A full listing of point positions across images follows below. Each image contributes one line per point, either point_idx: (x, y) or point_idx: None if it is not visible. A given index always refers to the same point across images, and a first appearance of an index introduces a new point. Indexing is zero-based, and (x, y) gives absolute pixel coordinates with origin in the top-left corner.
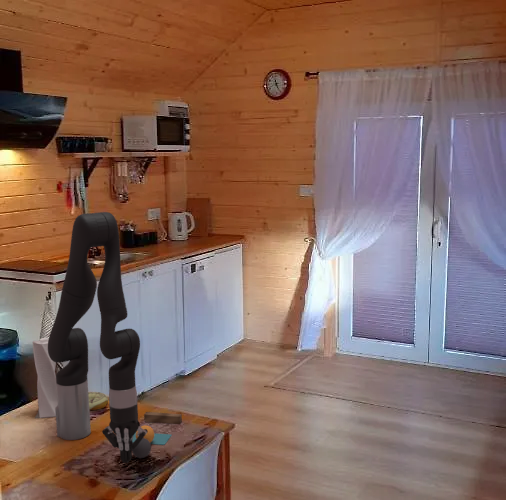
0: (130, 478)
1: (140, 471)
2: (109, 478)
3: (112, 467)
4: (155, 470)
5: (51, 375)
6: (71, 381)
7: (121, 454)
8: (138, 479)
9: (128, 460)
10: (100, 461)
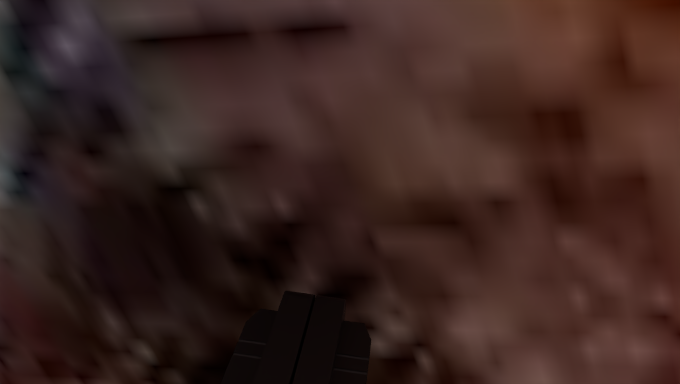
0: (184, 50)
1: (147, 199)
2: (441, 34)
3: (472, 271)
4: (17, 219)
5: None
6: None
7: (347, 380)
8: (85, 33)
9: (271, 314)
10: (632, 376)
